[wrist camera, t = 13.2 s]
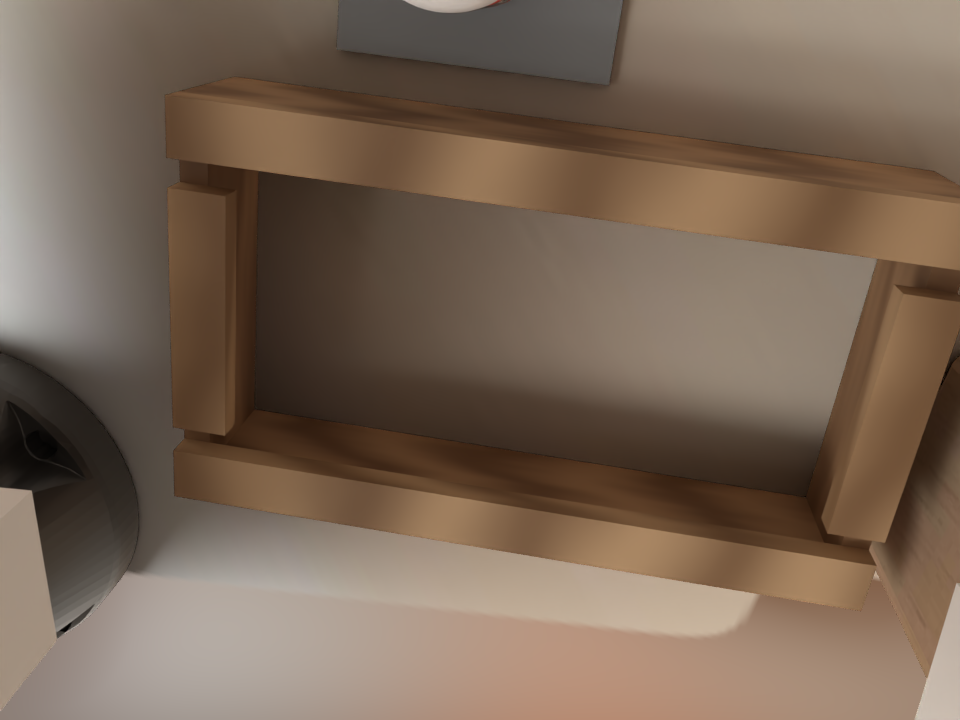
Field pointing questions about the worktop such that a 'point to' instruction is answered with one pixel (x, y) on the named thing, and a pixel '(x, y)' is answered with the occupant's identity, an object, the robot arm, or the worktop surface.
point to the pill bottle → (455, 5)
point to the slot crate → (530, 477)
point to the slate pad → (491, 35)
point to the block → (927, 529)
